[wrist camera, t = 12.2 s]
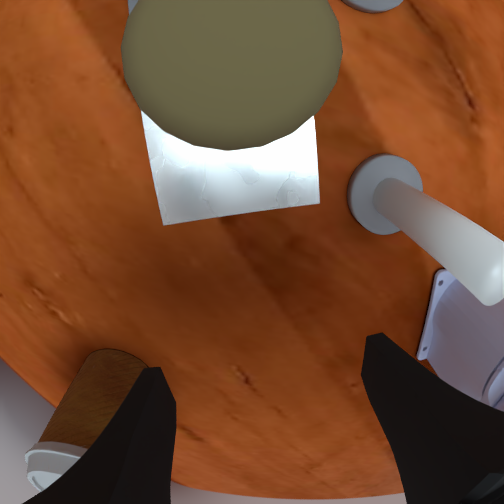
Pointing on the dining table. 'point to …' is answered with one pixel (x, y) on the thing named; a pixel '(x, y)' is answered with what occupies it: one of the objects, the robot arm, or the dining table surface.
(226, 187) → the board
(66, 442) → the disposable coffee cup
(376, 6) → the post
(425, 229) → the post
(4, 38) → the dining table surface
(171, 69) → the cork
